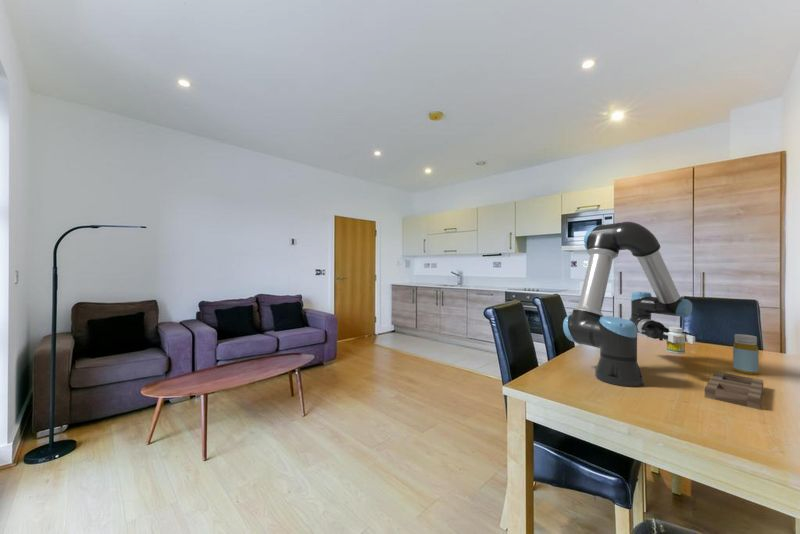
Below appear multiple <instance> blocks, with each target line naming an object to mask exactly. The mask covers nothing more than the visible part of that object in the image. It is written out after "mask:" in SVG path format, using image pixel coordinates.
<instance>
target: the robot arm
mask: <svg viewBox="0 0 800 534" xmlns="http://www.w3.org/2000/svg"><path fill="white" fill-rule="evenodd" d="M583 243H584V247H585V249H586V251H587V252H586V253H587V254H588V255H589V260H588V262H587V263H588V264H587V269H586V272H585V276H584V279H583V284H582V289H581V292H580V297H579V302H578V305H577V307H574V308H573V309H572V313H571V314H567V315H566V317H564V319H563V323H562V328H563V329H562V330H563V333H564V335H565V336H566V338H567V339H568V340H569V341H571V342H573V343H576V344H579V345H585V346H589V347H594V348H598V349H599V351H600V352H599V353H600V357H599V359H598V362H597V365H596V367H595V370H594V376H596V377H597V378H596V377H595V378H596V379H598V380H599V379H600V380H599V381H601V380H602V382H604V381H605V383H607V382H608V383H607V384H612V385H616V386H621V387H641V386H643V385H644V376H643V374H642V371H641V368H640V366H639V363H638V336H639V335H638V334H642V335H643V336H646V338H651V339H653V340H658V341H662V342H663V341H666V342H667V341H670V342H672V343H676V336H675V335H672V334H669V333H668V332H670V331H669V327H666V326H665V325H664V324H663V323H662V322H659V321H656V320H653V319H652V314H655V315H656V314H657V315H664V316H671V317H685V318H686V317H689V316H691V314H692V311H693V303H692V302H691V300H690V299H685V298H682V297H681V295H680V293H679V292H678V289H677V287H676V285H675V282H674V280H673V278H672V277H671V274H670V272H669V270H668V267H667V265H666V263H665V260H664V259H663V257H662V255H661V253H660V252H661V251H660V249H661V243H660V241H659V240H658V238H657V237H656V236H655V234H653V232H651V231H650V230H649V229H648V228H647V227H645V226H643V225H641V224H640V223H637V222H634V221H622V222H614V223H606V224H599V225H595V226H592V227H590V228H589V229H587V230H586V232H585V234H584V238H583ZM623 250H627V251H630V252H631V255H632V256H633V257H635V258H637V260H638V262H639V264H640V267H642V270H643V271H644V274H645V276H646V278H647V280H648V282H649V284H650V287H651V288H652V291H653V293H654V295H655V296H652V293H651V292H649V291H648V292H646V291H635V292H632V293H631V297H630V298H631V300H630V302H631V303H630V304H631V305H630V306H631V307H630V309H631V311H630V312H631V315H630V317H629V318H628V319H626V318H622V317H618V316H610V315H609V316H608V315H604V314H603V313H602V310H603V309H602V308H603V304H604V300H605V295H606V291H607V287H608V283H609V278H610V273H611V270H612V265H613V261H614V259H616V258H618V257H619V252H620V251H623ZM682 334H684V335H685V343H689V344H691V345H696V336H693V335H692V333H690V332H688V331H683V332H682Z"/></svg>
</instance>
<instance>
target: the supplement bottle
mask: <svg viewBox="0 0 800 534" xmlns="http://www.w3.org/2000/svg"><path fill="white" fill-rule="evenodd" d="M668 329H669V331H670V332H668V333H669V334H672V335H675V336H676V343H672V342H670V341H667V340H666V352H667V353H670V354H675V355H684V354H685V353H686V342H685V335H684V334H682V332H684V330H683V328H682V327H677V326H669V327H668Z"/></svg>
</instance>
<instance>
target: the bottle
mask: <svg viewBox="0 0 800 534" xmlns="http://www.w3.org/2000/svg"><path fill="white" fill-rule="evenodd" d="M759 350H760V349H759V347H758V337H757V336H755V335H750V334H742V333H737V334H736V333H735V334H734V343H733V346H732V357H733V358H732V363H733V364H732V366H733V370H734V372H736V373H740V374H744V375H750V374H752V375H754V376H757V375H758V374H760V373H759V371H760V369H759V368H760V367H759V366H760V362H759V361H760V358H759V356H760V355H759V354H760V352H759ZM752 375H751V376H752Z"/></svg>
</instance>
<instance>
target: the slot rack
mask: <svg viewBox="0 0 800 534" xmlns="http://www.w3.org/2000/svg"><path fill="white" fill-rule="evenodd" d="M763 394H764V379H759V378H755V377H754V378H753V377H747V376H742V375H737V374H730V373H725V372H720V371H714V373H713V375H712V376H711V378H710V379H709V381H708V382H707V383H706V386H705V387H704V398H707V399H711V400H712V399H713V400H717V401H720V402H725V403H730V404H734V405H737V406H742V407H748V408H749V409H750V408H752V409H756V410H760V409H761V403H762V400H763V399H762V398H763Z"/></svg>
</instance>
